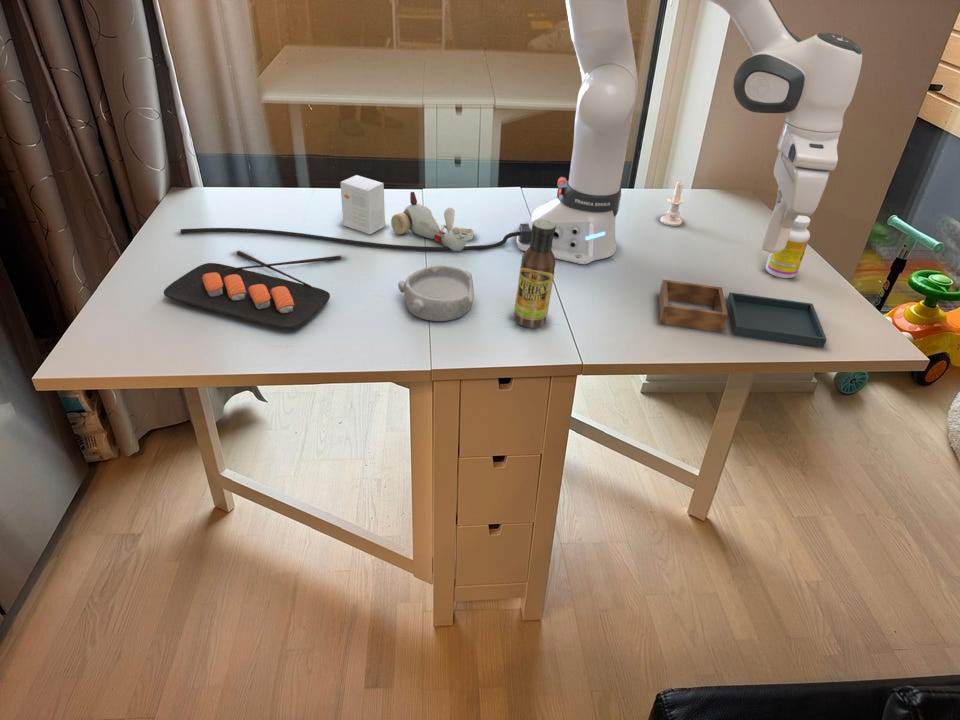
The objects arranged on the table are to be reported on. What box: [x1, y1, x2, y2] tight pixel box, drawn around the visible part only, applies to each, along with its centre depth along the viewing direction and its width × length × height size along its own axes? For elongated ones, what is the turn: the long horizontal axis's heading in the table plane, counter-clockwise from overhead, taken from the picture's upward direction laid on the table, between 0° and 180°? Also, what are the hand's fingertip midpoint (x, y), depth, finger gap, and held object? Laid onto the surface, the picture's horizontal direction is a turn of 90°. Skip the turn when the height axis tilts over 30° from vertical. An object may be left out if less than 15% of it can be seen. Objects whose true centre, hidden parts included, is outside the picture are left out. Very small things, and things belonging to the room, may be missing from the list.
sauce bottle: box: [513, 219, 556, 329], centre depth 129 cm, size 6×6×20 cm
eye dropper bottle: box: [761, 195, 792, 254], centre depth 127 cm, size 4×6×12 cm
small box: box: [340, 174, 386, 235], centre depth 161 cm, size 8×6×10 cm
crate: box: [658, 279, 729, 334], centre depth 139 cm, size 12×11×4 cm
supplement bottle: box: [765, 215, 811, 279], centre depth 153 cm, size 7×7×13 cm
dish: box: [397, 264, 475, 322], centre depth 136 cm, size 14×14×5 cm
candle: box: [659, 181, 684, 227], centre depth 173 cm, size 5×5×10 cm
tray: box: [726, 291, 828, 349], centre depth 139 cm, size 16×13×2 cm
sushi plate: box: [163, 250, 342, 330], centre depth 139 cm, size 29×30×4 cm
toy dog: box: [390, 191, 475, 252], centre depth 158 cm, size 12×19×9 cm, turn 69°
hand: (782, 219), depth 127 cm, fingers closed on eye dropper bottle, 5 cm apart
